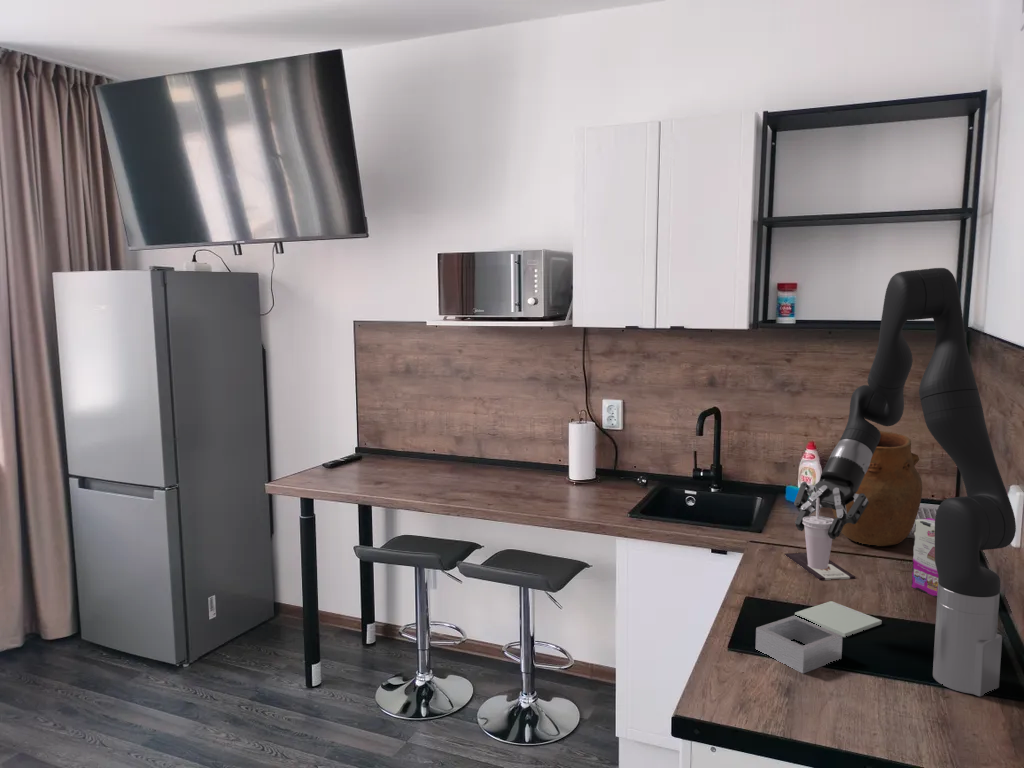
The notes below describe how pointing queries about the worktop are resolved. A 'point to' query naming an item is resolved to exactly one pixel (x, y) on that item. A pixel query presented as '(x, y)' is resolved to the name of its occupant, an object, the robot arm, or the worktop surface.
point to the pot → (888, 494)
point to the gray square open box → (805, 658)
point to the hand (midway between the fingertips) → (814, 532)
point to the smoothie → (817, 539)
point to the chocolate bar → (821, 574)
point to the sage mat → (839, 618)
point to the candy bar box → (924, 557)
